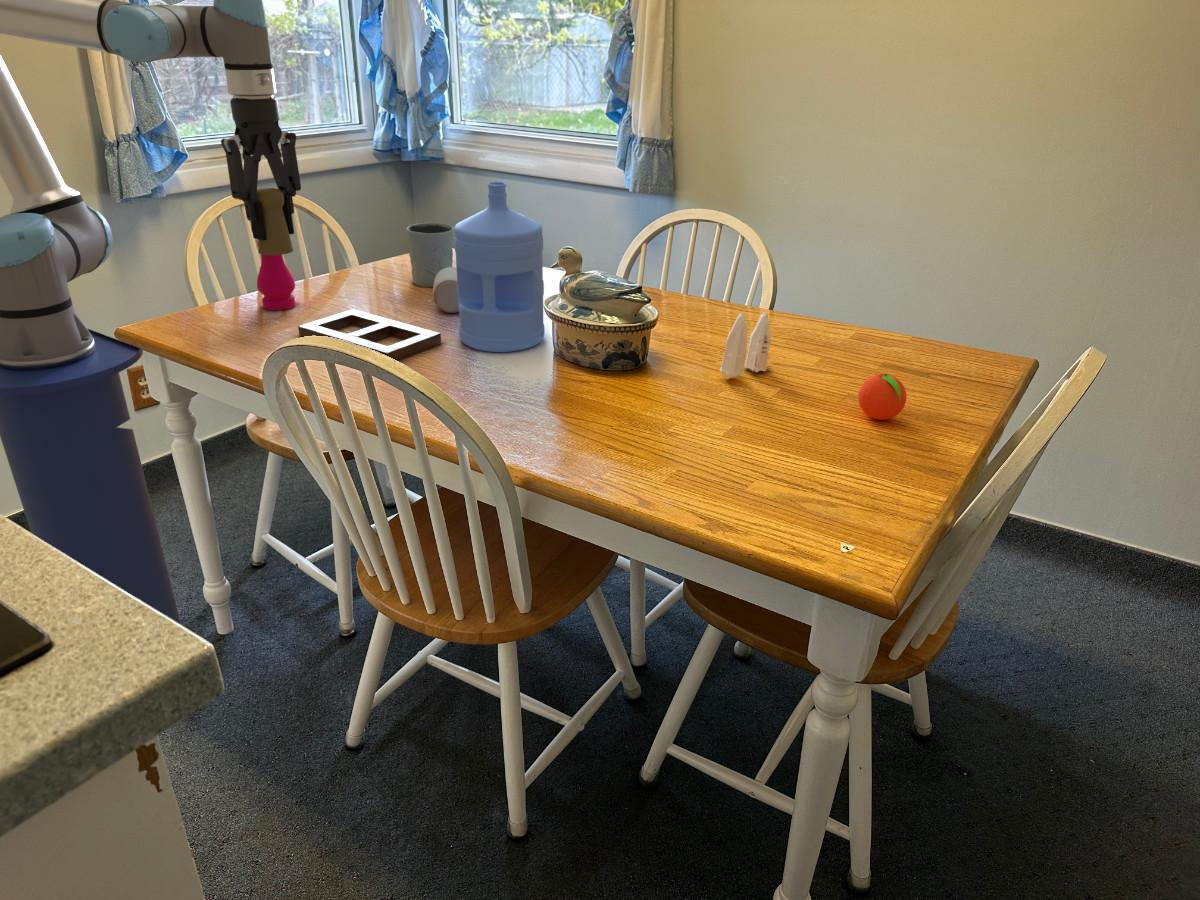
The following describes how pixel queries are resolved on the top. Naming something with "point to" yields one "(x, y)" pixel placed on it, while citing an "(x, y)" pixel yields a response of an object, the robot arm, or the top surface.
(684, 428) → the top surface
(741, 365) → the shaker set
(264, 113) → the robot arm
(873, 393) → the clementine
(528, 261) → the water jug
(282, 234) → the olive peg shaker
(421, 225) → the grey tapered cup
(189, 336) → the top surface
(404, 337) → the holder
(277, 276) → the pepper mill
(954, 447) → the top surface
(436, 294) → the ceramic mug
